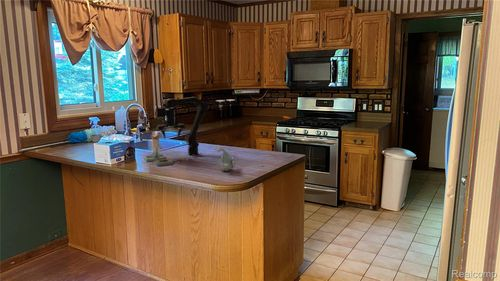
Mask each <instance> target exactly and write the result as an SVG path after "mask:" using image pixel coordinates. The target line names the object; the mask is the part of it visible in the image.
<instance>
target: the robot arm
mask: <svg viewBox="0 0 500 281" xmlns="http://www.w3.org/2000/svg"><path fill="white" fill-rule="evenodd" d="M191 103H193V104H194V105H195V106H196V115H195V117H194V121H193V123H192V125H191V129H190V131H189V132H186V134H185V136H184V142H185V143H186V144H187V146H188V148H187V153H188V155H189V156H195V155H199V146H200V143H199V142H198V141H197V133H198V130H199V127H200V125H201V122H202V120H203V116H204V115H205V114H206V112H207V111H208V109H209V104H208V103H207V102H204V101H203V100H201V99H200V98H198V97H197V96H189V97H183V98H178V99H177V98H166V99H165V101H164V104H163V105H162V107H155V110H154V116H155V118H156V119H159V118H165V117H166V118H165V119H162V124H158V125H157V126H156V129H157V130H158V131H159V132H160V133H161V134H162V136H163V138H164V140H166V132H165V131H166V130H165V129H177V139H179V138H180V135H181V133H182V131H184V129H186V125H185V124H184V123H177V125H176V117H175V116H176V115H175V112H176V111H178V109H177V106H179V105H184V104H191Z"/></svg>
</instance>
